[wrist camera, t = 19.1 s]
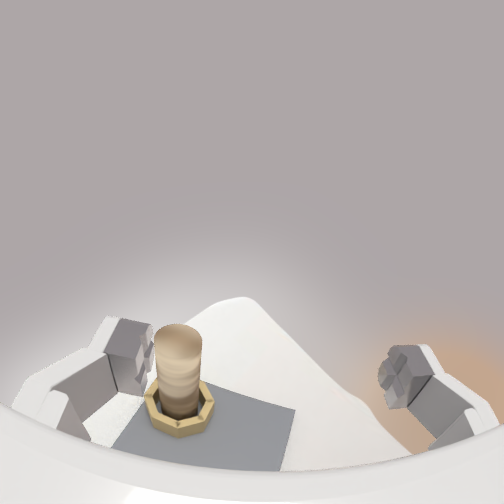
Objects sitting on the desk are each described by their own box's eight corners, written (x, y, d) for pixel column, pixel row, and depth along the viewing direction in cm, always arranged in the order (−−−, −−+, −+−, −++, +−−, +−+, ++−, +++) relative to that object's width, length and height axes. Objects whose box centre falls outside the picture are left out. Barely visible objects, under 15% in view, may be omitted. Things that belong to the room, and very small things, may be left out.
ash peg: (194, 429, 33) (196, 362, 27) (157, 420, 33) (147, 350, 27) (200, 400, 37) (206, 329, 31) (166, 392, 37) (161, 320, 31)
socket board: (264, 514, 23) (271, 508, 22) (111, 452, 27) (103, 440, 25) (293, 413, 38) (300, 398, 37) (168, 371, 42) (167, 354, 40)
